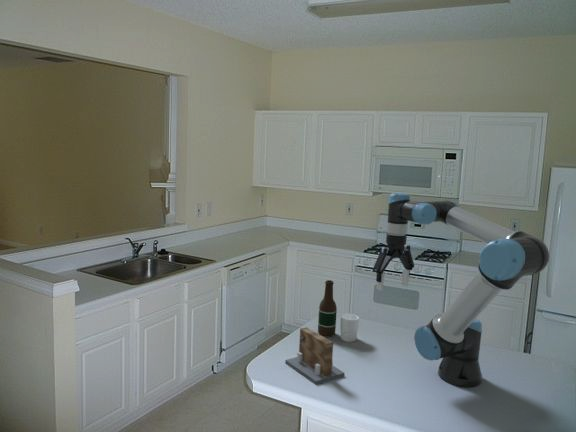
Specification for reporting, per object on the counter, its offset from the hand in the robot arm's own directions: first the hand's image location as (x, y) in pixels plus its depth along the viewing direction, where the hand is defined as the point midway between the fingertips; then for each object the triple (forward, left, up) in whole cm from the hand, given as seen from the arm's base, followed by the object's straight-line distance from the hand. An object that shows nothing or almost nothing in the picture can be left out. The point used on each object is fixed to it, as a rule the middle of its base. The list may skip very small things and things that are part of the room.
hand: (392, 287), depth 190 cm
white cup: (+22, +1, -29) cm, 36 cm away
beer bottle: (+31, +6, -29) cm, 43 cm away
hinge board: (+6, +32, -29) cm, 43 cm away
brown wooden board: (+6, +31, -28) cm, 42 cm away
